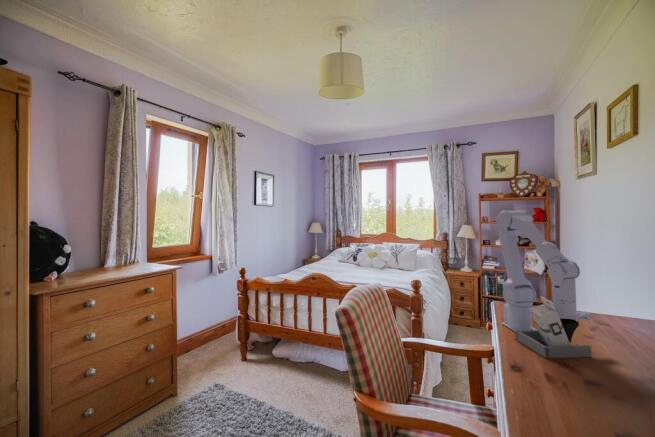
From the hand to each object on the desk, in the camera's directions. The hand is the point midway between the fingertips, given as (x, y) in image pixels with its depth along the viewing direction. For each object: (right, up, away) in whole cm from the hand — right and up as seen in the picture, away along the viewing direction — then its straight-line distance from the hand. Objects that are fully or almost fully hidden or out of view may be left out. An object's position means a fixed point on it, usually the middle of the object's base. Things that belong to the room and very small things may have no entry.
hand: (566, 342), depth 96 cm
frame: (-5, -2, 0) cm, 5 cm away
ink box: (-3, -1, 0) cm, 3 cm away
